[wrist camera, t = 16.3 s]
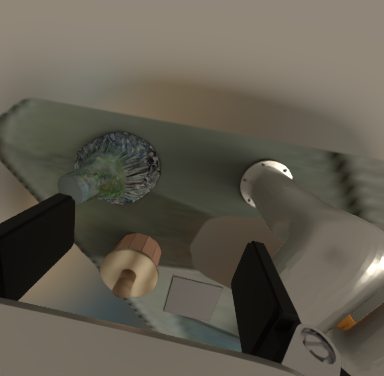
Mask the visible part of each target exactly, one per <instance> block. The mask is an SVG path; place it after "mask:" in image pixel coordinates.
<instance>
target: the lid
mask: <svg viewBox="0 0 384 376" xmlns="http://www.w3.org/2000/svg"><path fill="white" fill-rule="evenodd" d="M100 275H101V278H102V280H103V281H104V283H105V284H106V285H107V286H108V287H109V288H110V289H111V290H112V291H113V294H114V295H115V296H116V297H119V298H126V297H139V296H143V295H146V294H148V293H149V292H151V291H152V290H153V289H154V287H155V286H156V283H157V280H158V269H157V266H156V264H155V263H154V261H153V260H152V259H151V258H150V257H149V256H148V255H146V254H145V253H143V252H141V251H138V250H135V249H130V248H121V249H117V250H114V251H112V252H110V253H109V254H108V255H107V256H106V257H105V258H104V260H103V261H102V263H101V266H100Z"/></svg>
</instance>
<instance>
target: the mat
mask: <svg viewBox="0 0 384 376" xmlns="http://www.w3.org/2000/svg"><path fill="white" fill-rule="evenodd" d="M222 289H223V287H219V286H215V285H211V284H207V283H202V282H198V281H194V280H190V279H186V278H181V277H177V276H174V277H173V281H172V284H171V288H170V291H169V295H168V298H167V302H166V305H165V309H164V312H169V313H173V314H177V315H182V316H186V317H190V318H195V319H199V320H204V321H208V322H209V320H210V318H211V316H212V313H213V311H214V308H215V306H216V303H217V301H218V299H219V296H220V294H221V291H222Z"/></svg>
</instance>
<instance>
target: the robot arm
mask: <svg viewBox="0 0 384 376" xmlns="http://www.w3.org/2000/svg"><path fill="white" fill-rule="evenodd" d="M262 163H263V165H261V164H262ZM283 170H284V171H283ZM244 179H245V180H244ZM240 190H241V194H242V196H243V198H244V200H245V201H246V202H247V203H248V204H250V205H251V206H254V207H256V208H257V209H258V211H259V213H260V214H261V216H262V218H263V220H264V221H265V223H266V225H267V226H268V228H269V230H270V231H271V232H272V233H273V234H274V235H275V236H276V237H277V238H279V239H280V240H282V241H284V242H285V243H284V244H283V245H282V246H281V247H280V248H279V250H278V251H277V252H276V254H275V255H274V256H273V257H272V258H271V257H270V255H269V253H268V251H267V249H266V247H265V245H264V244H263V243H260V242H255V241H252V242H251V243H248V244H247V246H246V248H245V250H244V253H243V255H242V257H241V260H240V262H239V264H238V267H237V269H236V272H235V274H234V276H233V279H232V282H231V288H232V294H233V300H234V306H235V312H236V318H237V324H238V330H239V336H240V342H241V349H242V353H241V352H237V351H233V350H229V349H225V348H221V347H217V346H213V345H209V344H205V343H200V342H196V341H192V340H187V339H183V338H179V337H175V336H170V335H166V334H162V333H157V332H153V331H148V330H144V329H140V328H135V327H131V326H127V325H122V324H118V323H113V322H109V321H104V320H100V319H96V318H91V317H87V316H82V315H78V314H73V313H68V312H64V311H60V310H55V309H50V308H46V307H41V306H37V305H33V304H28V303H23V302H19V301H18V300H19V299H20V298H21V297H22V296H23V295H24V294H25V293H26V292H27V291H28V290H29V289H30V288H31V287H32V286H33V285H34V284H35V283H36V282H37V281H38V280H39V279H40V278H41V277H42V276H43V275H44V274H45V273H46V272H47V271H48V270H49V269H50V268H51V267H52V266H53V265H54V264H55V263H56V262H57V261H59V259H61V257H62V256H64V255H65V253H67V252H68V250H70V249H71V247H72V246H73V243H74V225H75V200H74V199H73V198H72V196H70V195H66V194H62V193H58V194H56V195H54V196H52V197H50V198H48V199H46V200H44V201H42V202H40V203H39V204H37V205H35V206H33V207H31V208H29V209H27V210H25V211H23V212H21V213H19V214H17V215H16V216H14V217H12V218H10V219H8V220H6V221H4V222H2V223H1V224H0V376H384V303H382V304H381V305H380V306H378V307H377V308H376V309H374V310H373V311H372V312H370V313H369V314H368V315H366V316H365V317H364V318H363V319H361V320H360V321H359V322H357V323H356V324H355V325H353V326H352V327H351V328H349V329H347V330H344V329H342V328H340V327H338V326H336V325H337V324H339V323H340V322H341V321H342V320H344V319H345V318H346V317H347V316H348V315H350V314H352V313H353V312H355V311H356V310H357V309H358V308H359V307H361V306H362V305H363V304H364V303H366V302H367V301H368V300H369V299H371V298H372V297H373V296H374V295H375V294H377V293H378V292H379V291H380V290H381V289H382V288H383V287H384V232H383V231H382V230H380V229H379V228H377V227H376V226H374V225H373V224H371V223H369V222H367V221H365V220H363V219H361V218H359V217H357V216H355V215H352V214H350V213H348V212H345V211H343V210H341V209H339V208H336V207H334V206H332V205H330V204H329V203H327V202H325V201H324V200H322V199H320V198H319V197H317V196H316V195H314V194H313V193H312V192H310V191H308V190H307V189H306V188H304V187H303V186H301V185H300V184H298V183H297V182H295V181H294V180H293V179H292V175H291V172H290V171H289V169H288V168H287V167H286V166H285V165H283V164H282V163H280V162H277V161H274V160H263V161H260V162H257V163H255V164H253V165H252V166H250V167H249V168H248V169H247V170H246V171H245V173H244V174H243V176H242V178H241V182H240ZM248 199H249V200H248Z"/></svg>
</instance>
